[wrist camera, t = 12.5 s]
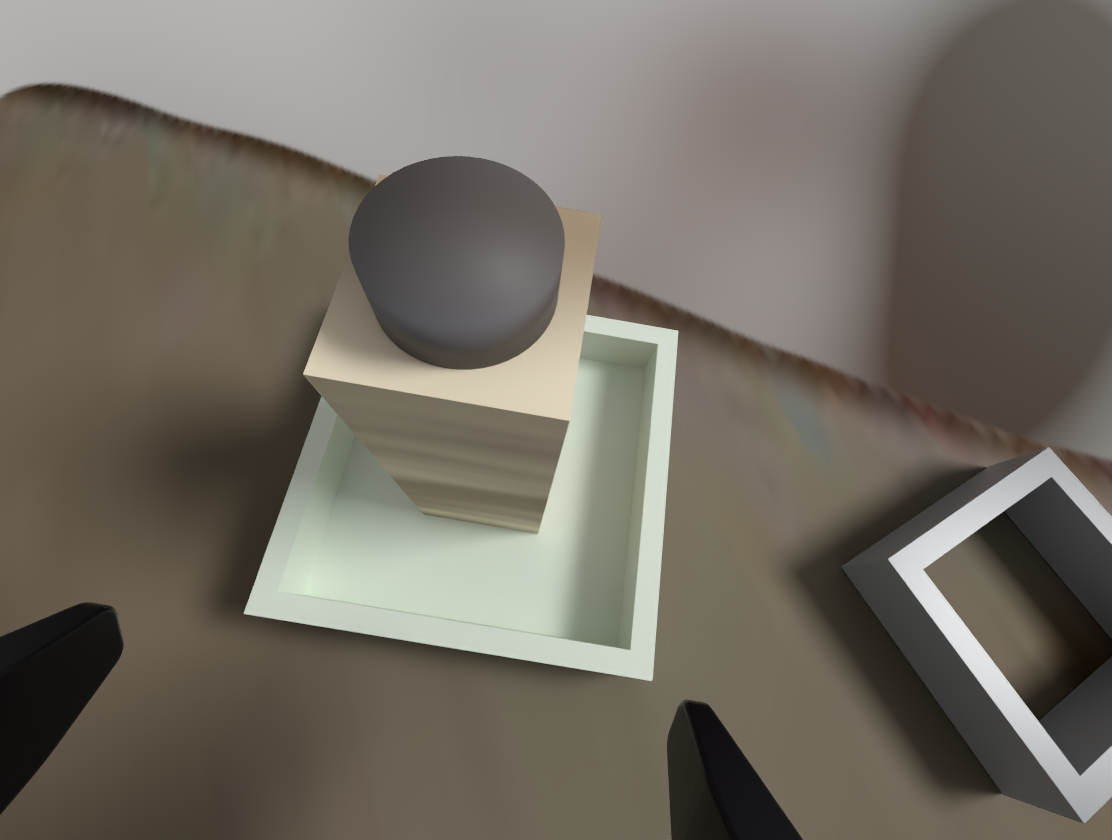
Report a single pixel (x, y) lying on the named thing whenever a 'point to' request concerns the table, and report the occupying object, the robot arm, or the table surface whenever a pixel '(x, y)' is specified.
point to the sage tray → (496, 533)
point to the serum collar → (960, 661)
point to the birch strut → (460, 336)
